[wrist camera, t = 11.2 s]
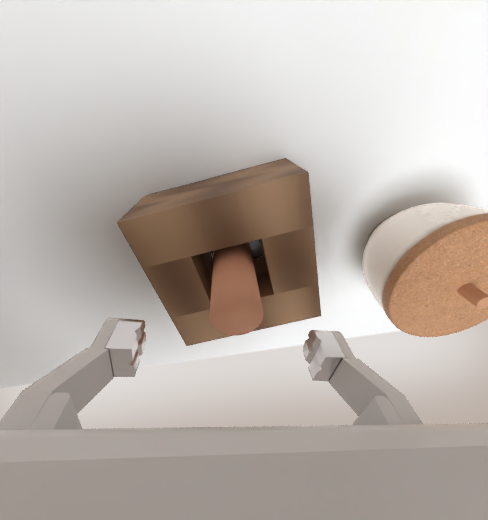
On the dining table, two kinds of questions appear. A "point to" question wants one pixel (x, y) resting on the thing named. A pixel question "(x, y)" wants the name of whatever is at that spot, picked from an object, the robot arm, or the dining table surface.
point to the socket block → (229, 244)
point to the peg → (235, 291)
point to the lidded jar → (430, 268)
